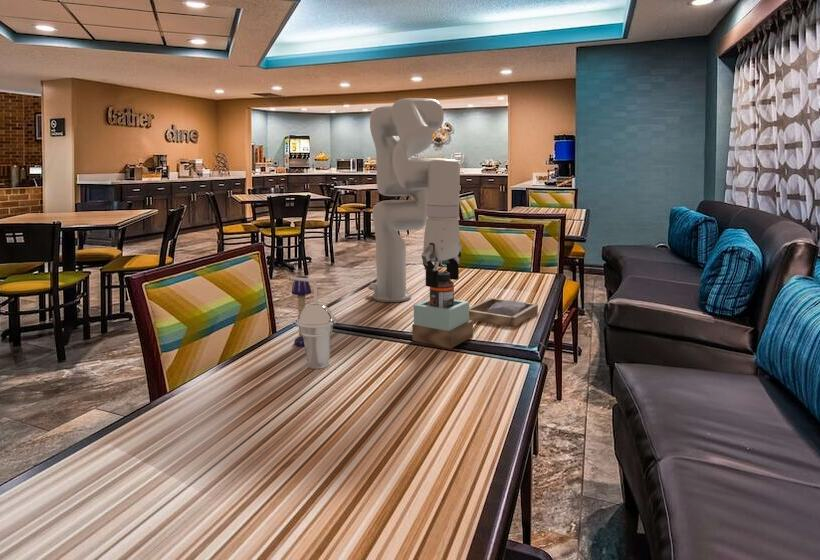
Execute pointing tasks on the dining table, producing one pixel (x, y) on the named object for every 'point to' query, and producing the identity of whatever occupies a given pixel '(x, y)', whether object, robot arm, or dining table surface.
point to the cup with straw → (316, 330)
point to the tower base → (443, 335)
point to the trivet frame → (479, 315)
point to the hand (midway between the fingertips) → (442, 282)
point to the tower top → (441, 315)
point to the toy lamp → (300, 303)
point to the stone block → (507, 308)
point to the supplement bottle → (442, 292)
